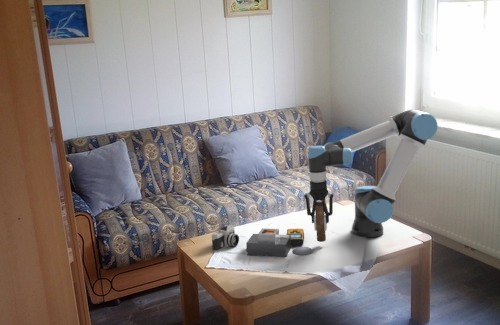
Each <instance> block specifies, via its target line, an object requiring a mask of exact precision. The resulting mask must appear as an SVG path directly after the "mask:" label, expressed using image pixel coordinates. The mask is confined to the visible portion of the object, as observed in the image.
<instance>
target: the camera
mask: <svg viewBox="0 0 500 325" xmlns="http://www.w3.org/2000/svg"><path fill="white" fill-rule="evenodd" d="M239 241H240V236H239V235H238V234H237V233H235V226H233V225H230V224H229V225H226V226H221V227H219V228H218V231H214V233H212V235H211V243H212V251H213V252H216V253H217V252H220V251H222V250H223V249H225V248H229V247H236V246H238V244H239Z"/></svg>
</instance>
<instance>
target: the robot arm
mask: <svg viewBox="0 0 500 325" xmlns="http://www.w3.org/2000/svg"><path fill="white" fill-rule="evenodd" d="M437 130H438V122H437V119H436V117H435V116H433V115H432V114H431V113H429V112H427V111H421V110H419V109H408V110H405V111H402V112H400V113H398V114H395V115H393V116H390V117H389V118H388V119H387V120H386V121H384V122H381V123H379V124H377V125H374V126H372V127H370V128H367V129H365V130H362V131H360V132H357V133H355V134H354V133H353V134H352V135H349V136H347V137H344V138H342V139H339V140H337V141H334V142H326V143H325V144H324V145H312V146H309V147H308V151H307V152H308V156H307V158H308V169H309V171H308V174H309V192H307V193H305V194H304V195H303V197H304V199H305V204H306V205H305V206H306V213H307V214H306V215H307V216H311V223H312V224H313V226H314V231H315V232H317V231H316V213H315V205H316V204H315V203H316V202H318V201H321V202H322V203H323V208H324V215H325V216H324V228H325V232H326V231H327V230H328V224H329V223H330V216H333V213H334V210H333V203H334V202H333V200H334V199H333V198H334V196H335V194H334V193H333V192H329V191H328V184H327V182H328V181H327V179H328V178H327V168H328V167H336V166H346V165H347V166H348V165H351V164H352V163H353V160H354V157H353V153H354V152H356V151H359V150H361V149H364V148H367V147H368V146H372V145H374V144H376V143H379V142H381V141H384V140H386V139H389V138H391V137H399V136H400V138H401V140H400V141H399V143H398V145H397V147H396V149H395V150H394V153H393V155H392V156H391V159H390V161H389V163H388V165H387V166H386V168H385V170H384V172H383V173H382V174H383V175H382V176H381V178H380V180H379V182H378V184H377V186H376V185H363V186H357V187H355V188H354V219H353V223H352V224H351V225H352V226H351V233H352V234H353V235H354V236H358V237H361V238H376V237H380V236H382V235H383V234H384V226H383V223H385V222H387V221H389V220H390V219H391V218H392V216H393V214H394V206H393V205H394V204H395V202H396V199H397V198H396V196H395V195H396V192H397V191H398V189H399V187H400V185H401V183H402V181H403V179H404V177H405V176H406V173H407V171H408V170H409V168H410V166H411V164H412V162H413V160H414V158H415V157H416V154H417V153H418V152H419V148H422V147H425V145H426V144H427V141H428V140H430V139H432V138H433V137H434V136H435V135H436V133H437V132H438V131H437ZM327 196H328V198H329V199H328V206H329V207H328V206H327V201H326V197H327ZM310 197H311V198H312V200H313V201H312V209H311V202H310ZM328 209H329V210H328Z"/></svg>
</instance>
